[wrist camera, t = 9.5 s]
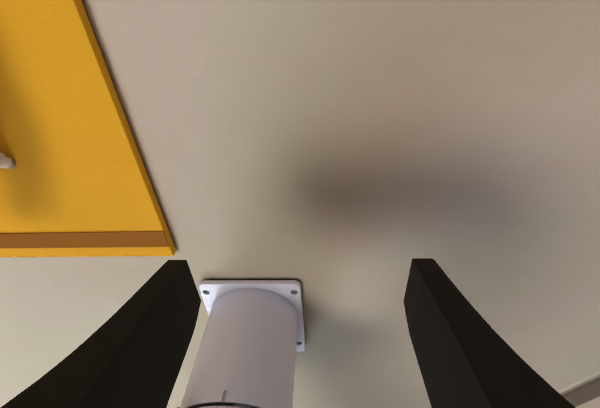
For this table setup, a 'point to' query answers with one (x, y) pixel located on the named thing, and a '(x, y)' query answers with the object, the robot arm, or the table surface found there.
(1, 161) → the bull figurine
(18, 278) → the table surface
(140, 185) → the towel
